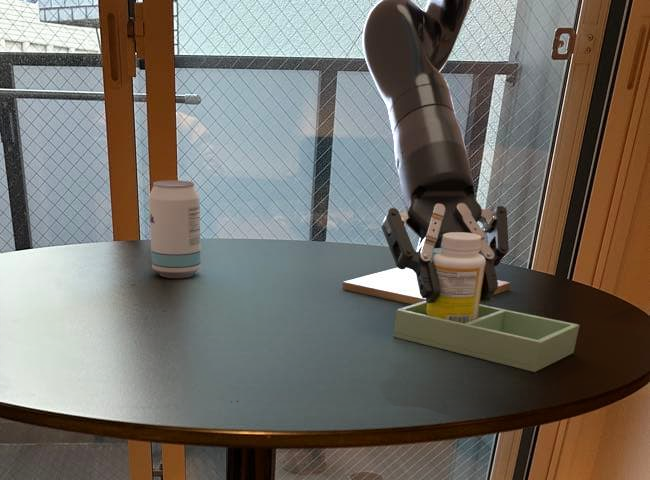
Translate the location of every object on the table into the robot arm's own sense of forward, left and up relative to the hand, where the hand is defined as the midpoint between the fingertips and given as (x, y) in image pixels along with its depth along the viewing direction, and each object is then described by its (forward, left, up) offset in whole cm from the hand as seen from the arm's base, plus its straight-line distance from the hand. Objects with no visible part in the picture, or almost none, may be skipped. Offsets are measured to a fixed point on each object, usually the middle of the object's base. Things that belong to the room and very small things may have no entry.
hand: (461, 297), depth 85 cm
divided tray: (-1, +3, -5) cm, 6 cm away
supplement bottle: (-1, -1, -4) cm, 5 cm away
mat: (-18, -15, -5) cm, 24 cm away
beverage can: (0, -45, -5) cm, 46 cm away
